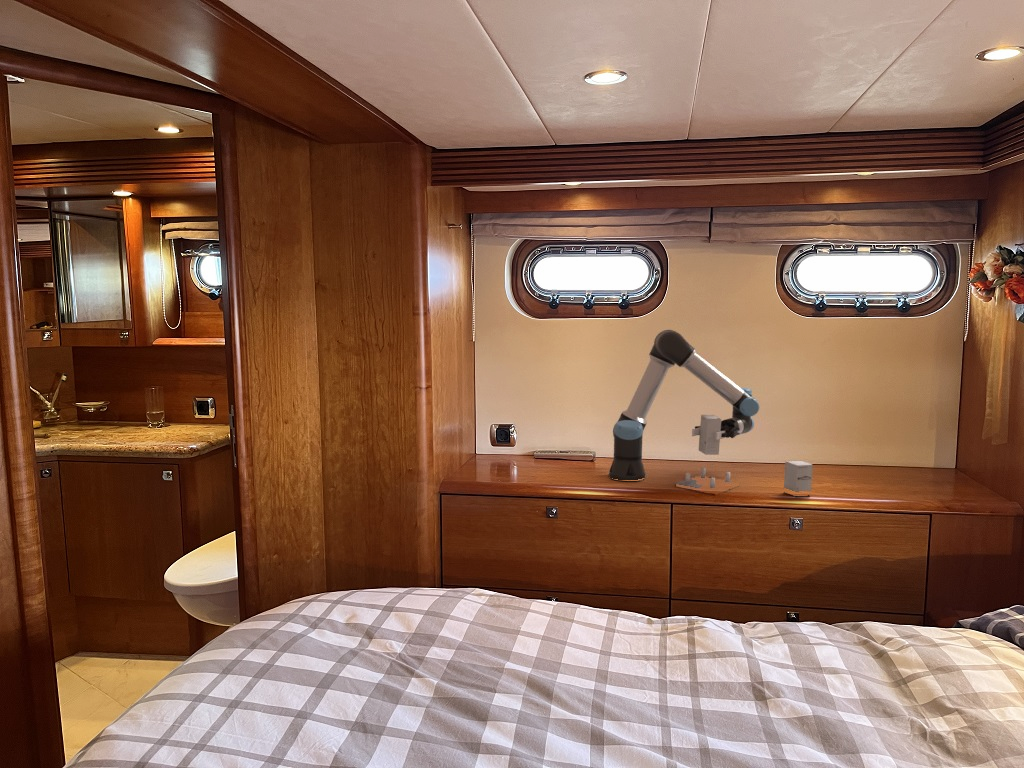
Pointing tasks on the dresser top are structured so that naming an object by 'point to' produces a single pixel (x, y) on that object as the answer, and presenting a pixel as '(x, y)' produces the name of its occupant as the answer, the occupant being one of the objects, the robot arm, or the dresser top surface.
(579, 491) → the dresser top surface
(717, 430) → the skincare box
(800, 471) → the supplement box
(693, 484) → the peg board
